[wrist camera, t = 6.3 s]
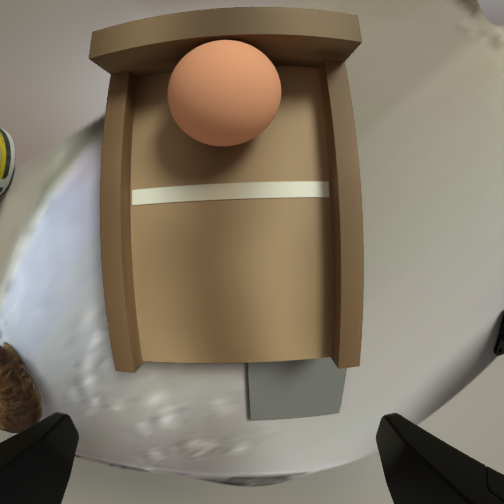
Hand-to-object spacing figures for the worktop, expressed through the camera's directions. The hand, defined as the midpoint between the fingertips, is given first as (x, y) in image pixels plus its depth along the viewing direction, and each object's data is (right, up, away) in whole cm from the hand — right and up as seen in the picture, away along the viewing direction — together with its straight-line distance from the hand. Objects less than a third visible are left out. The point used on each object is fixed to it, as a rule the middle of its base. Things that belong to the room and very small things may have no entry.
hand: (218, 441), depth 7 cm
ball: (0, +13, +3) cm, 14 cm away
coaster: (+4, -3, +11) cm, 12 cm away
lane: (0, +7, +8) cm, 11 cm away
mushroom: (-17, -4, +11) cm, 20 cm away
